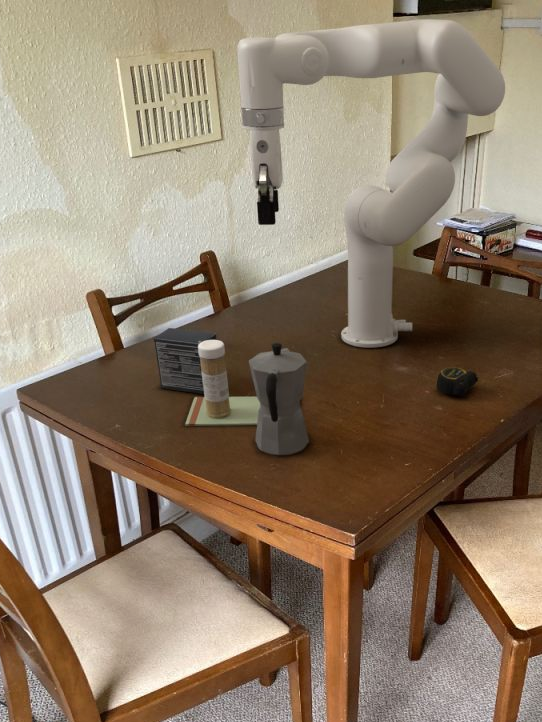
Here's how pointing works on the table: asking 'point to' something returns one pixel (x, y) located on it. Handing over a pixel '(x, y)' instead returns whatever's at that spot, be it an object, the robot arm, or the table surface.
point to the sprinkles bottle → (214, 378)
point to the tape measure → (455, 381)
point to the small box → (180, 359)
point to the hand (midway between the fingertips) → (268, 217)
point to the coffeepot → (279, 400)
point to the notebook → (241, 414)
